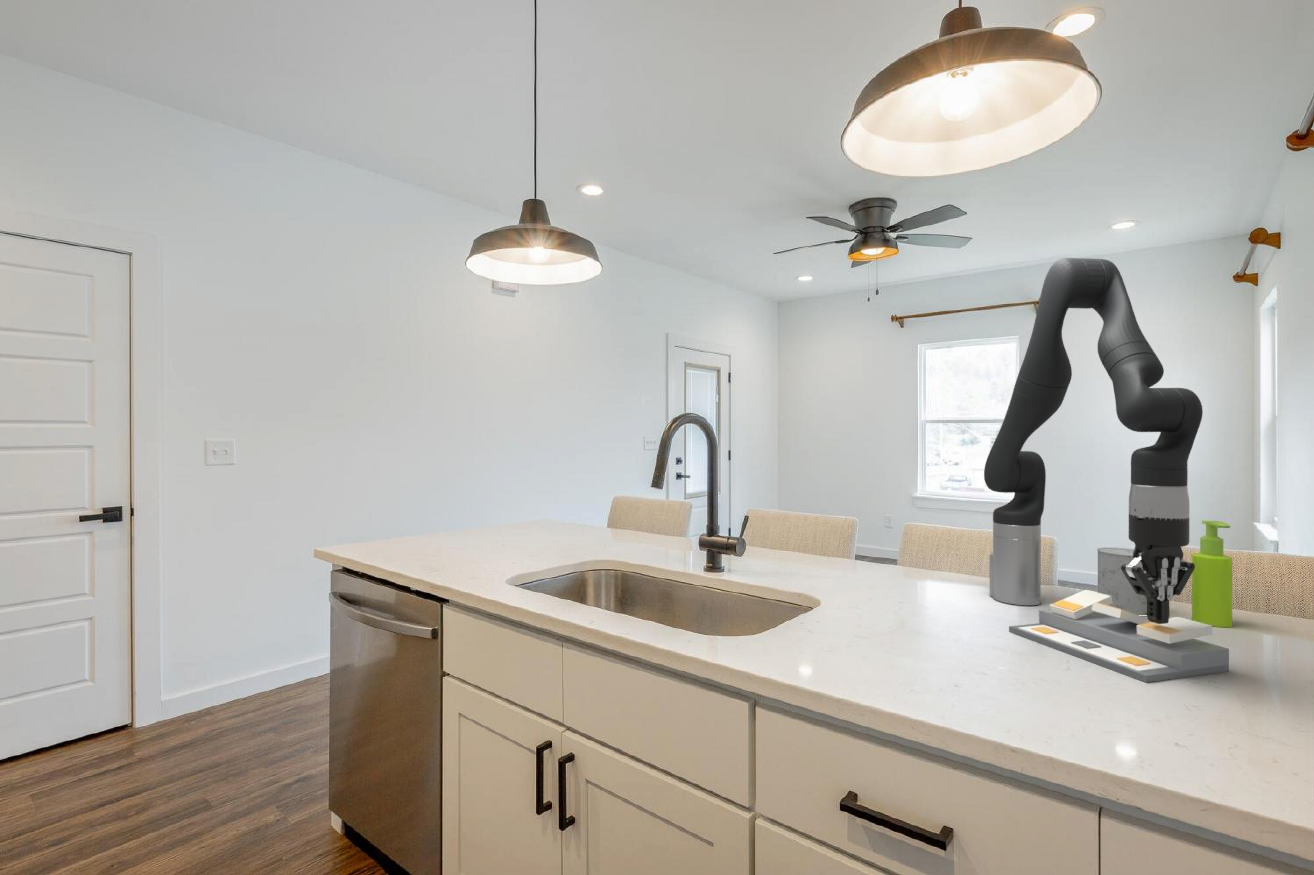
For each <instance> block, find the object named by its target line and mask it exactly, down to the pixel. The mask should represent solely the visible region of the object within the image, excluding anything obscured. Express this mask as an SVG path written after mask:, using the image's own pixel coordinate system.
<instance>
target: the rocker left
mask: <svg viewBox="0 0 1314 875" xmlns="http://www.w3.org/2000/svg"><path fill="white" fill-rule="evenodd" d="M1093 602H1094V603H1096V602H1097V603H1101V604H1105V605H1110V604H1112V603H1113V602H1112V597H1111V596H1109V595H1105V594H1101V593H1098V591H1093V590H1089V589H1084V590H1082V591H1079V592H1077V593H1074V594H1072V595H1069V596H1067V597H1065V598H1063V599H1061V600H1057V601H1055V602H1053V603H1050V604H1049V609H1050V610H1051V612H1053V613H1056V614H1059V615H1062V616H1065V617H1069V618H1072V619H1075V620H1076V619H1078V618H1080V617H1083V616H1085V615H1087V614H1089V613H1092V612H1094V611H1093V610H1092V606H1093Z"/></svg>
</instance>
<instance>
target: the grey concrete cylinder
mask: <svg viewBox="0 0 1314 875" xmlns="http://www.w3.org/2000/svg"><path fill="white" fill-rule="evenodd" d="M1096 550H1097V592H1098V593H1101V594H1105V595H1109V596H1111V597H1112V602H1113V603H1112V604H1110V605H1108V606H1112V607H1116V608H1119V609H1123V610H1126V611H1129V612H1132V613H1133V614H1136V615H1147V598H1146V597H1145V596H1143V595H1140V594H1136V593H1135V591H1134V589H1133V588H1132V586H1131V585H1130V583H1129V581H1128V580H1127V578H1126V577H1125V575H1124V573H1123V572H1122V570H1121V566H1122V565H1123V564H1127V565H1129V564H1130V563H1131V562H1132V561H1133V560H1134V558H1133V552H1134V550H1135V548H1125V547H1098V548H1097V549H1096Z"/></svg>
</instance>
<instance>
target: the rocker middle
mask: <svg viewBox="0 0 1314 875" xmlns="http://www.w3.org/2000/svg"><path fill="white" fill-rule="evenodd" d="M1092 610H1093V611H1096V612H1099V613H1102V614H1106V615H1109V616H1112V617H1116V618H1119V619H1122V620H1125V621H1129V622H1132V623H1136V624H1139V625H1140V624H1145V623H1150V621H1149V620H1148V617H1147V616H1139V615H1136V614H1133V613H1132V612H1129V611H1126V610H1123V609H1119V608H1116V607H1112V606H1108V605H1105V604H1101V603H1097V602H1096V603H1094V602H1093V606H1092Z"/></svg>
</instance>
